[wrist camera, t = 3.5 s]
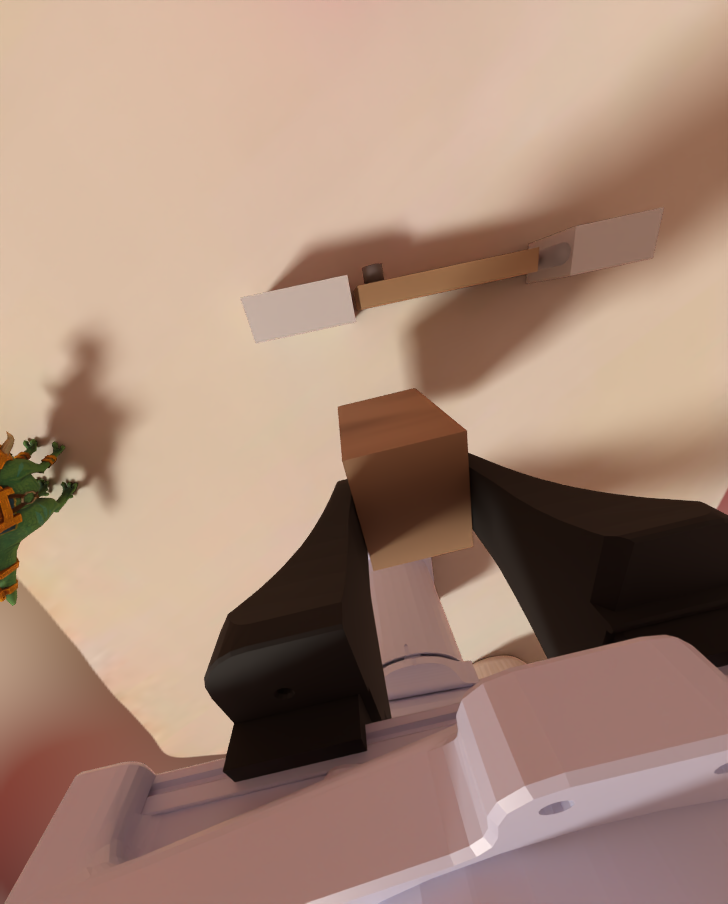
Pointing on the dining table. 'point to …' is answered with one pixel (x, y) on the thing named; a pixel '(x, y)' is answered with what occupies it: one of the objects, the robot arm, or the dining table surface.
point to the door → (441, 278)
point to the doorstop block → (407, 477)
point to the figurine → (23, 506)
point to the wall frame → (557, 259)
